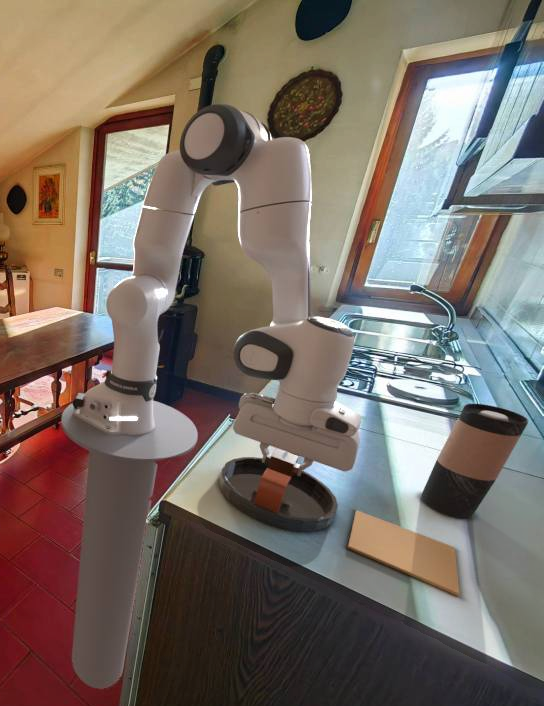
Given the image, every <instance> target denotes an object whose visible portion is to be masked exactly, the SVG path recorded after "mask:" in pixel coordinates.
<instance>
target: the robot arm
mask: <svg viewBox="0 0 544 706" xmlns="http://www.w3.org/2000/svg"><path fill="white" fill-rule="evenodd" d="M232 183H235V184H236V186H237V189H238V217H237V219H238V220H237V233H238V239H239V245H240V248H241V250H242V251H243V253H244V254H245V255H246V256H247V257H248V258H250V259H251V260H252V261H254V262H256V263H258V264H259V265H260V266H261V267H262V268H263V269H264V270H266V272H267V274H268V275H269V277H270V281H271V285H272V287H271V288H272V310H273V311H272V313H273V317H272V321H271V323H270V324H269V325H267V326H262V327H258V328H254V329H251V330H249V331H247V332H244V333H242V334H241V335H240V336H239V337H238V338H237V339H236V341H235V344H234V345H233V350H232V351H233V352H232V353H233V354H232V355H233V360H234V363H235V365H236V367H237V368H238V369H239V370H240V371H241V372H242V373H243V374H245V375H246V376H249V377H252V378H255V379H256V378H257V379H262V380H270V381H278V382H279V385H278V389H277V392H276V395H275V398H274V397H272V396H271V397H270V396H267V395H262V394H258V393H256V392H249V393H248V392H247V393H243V394H242V395H241V396H240V398H239V401H238V408H239V411H238V413H237V415H236V418H235V420H234V422H233V425H232V429H233V431H234V433H235V434H236V435H239V436H241V437H245V438H247V439H250V440H254V441H255V442H258V443H259V450H260V452H261V454H262V457H261V458H262V462H263V463H265V464H269V461H270V458H271V455H272V454H273V453H270V451H269V447H273V448H275V449H276V448H277V449H280V450H282V451H285V452H288V453H293V454H295V455H298V456H299V457H302V458H303V460H302V463H301V464H300V463H298V462H297V463H296V464H295V466H294V468H293V471H292V474H294V475H297V476H300V475H301V473H302V471H305V469H308V468H309V467H311V466H312V465H313V463H314V462H316V463H318V464H322V465H324V466H327V467H330V468H332V469H335V470H338V471H341V472H345V473H346V472H349V471H351V470H353V469H354V466H355V463H356V460H357V457H358V453H359V450H360V449H359V448H360V444H361V434H360V432H359V429H360V428H361V424H362V417H361V415H360V414H359V413H358V412H355V411H354V410H352V409H350V408H348V407H346V406H345V405H343V404H341V403H339V401H336V400H337V398H338V388H339V385H340V383H341V382H342V381H343V379H344V378H345V377H346V374H347V371H348V369H349V366H350V362H351V359H352V355H353V351H354V345H355V334H354V332H353V331H352V329H351V328H350V327H348V326H347V325H346V324H344V323H342V322H340V321H337V320H335V319H331V318H327V317H322V316H312V313H311V311H312V309H311V258H310V241H309V240H310V224H311V223H310V220H311V209H312V208H311V206H312V203H311V202H312V169H311V159H310V153H309V148H308V146H307V144H306V143H305V142H304V141H303V140H302V139H300V138H297V137H292V136H281V137H276V138H272V135H271V132H270V130H269V128H268V127H267V126H266V124H264V123H263V122H261V121H260V120H259V119H258V118H257V117H256V116H254V115H253V114H252V113H250V112H248V111H246V110H242V109H241V110H240V109H239V108H237V107H235V106H234V105H231V104H226V103H216V104H209V105H207V106H204V107H202V108H201V109H199V110H198V111H197V112H196V113H194V114H193V115H192V116H191V117H190V119H189V120H188V121H187V123H186V124H185V126H184V128H183V130H182V133H181V136H180V139H179V150H173V151H169V152H167V153H166V154H164V155H163V156H162V157H161V158H160V159H159V161H158V162H157V165H156V167H155V169H154V171H153V173H152V176H151V179H150V181H149V184H148V187H147V190H146V192H145V196H144V199H143V203H142V206H141V211H140V215H139V219H138V222H137V226H136V230H135V232H134V233H135V235H134V238H133V241H132V247H133V252H134V256H133V269H132V274H131V276H130V277H126V278H124V279H122V280H121V281H119V282H118V283H117V284H116V285H115V286H114V287H113V288H112V289H111V291H109V293H108V295H107V298H106V301H105V302H106V303H105V305H106V307H105V308H106V312H107V315H108V317H109V318H110V320H111V326H112V333H113V353H112V365H111V368H110V369H108V370H106V372H103V373H102V374H101V375H102V376H101V378H102V379H104V378H105V379H104V381H103V382H101V383H100V382H99V383H98V384H96V385H94V386H93V387H91V388H90V389H87V391H86V392H83V393H82V392H78V393H77V394H76V395H75V398H74V399H73V401H72V403H73V406H74V409H73V415H75V416H77V417H78V418H80V419H82V420H84V421H85V422H87V423H89V424H91V425H92V426H94V427H96V428H98V429H99V430H101V431H103V432H105V433H106V434H108V435H120V434H125V435H141V434H146V433H149V432H150V431H152V430H153V429H154V427H155V424H154V418H153V401H154V398H155V395H156V392H157V382H158V376H157V369H158V364H159V356H160V349H161V347H160V346H161V345H160V343H159V336H158V335H159V334H158V322H159V317H160V315H163V314H164V313H165V312H167V311H168V310H169V309H170V307H171V305H172V303H173V302H174V299H175V296H176V289H177V285H178V279H179V275H180V268H181V263H182V257H183V254H184V249H185V247H186V243H187V240H188V238H189V237H188V236H189V234H190V230H191V228H192V224H193V222H194V221H193V220H194V218H195V214H196V211H197V208H198V205H199V203H200V200H201V196H202V194H203V193H204V191H205V189H206V188H208V186H210V185H213V186H215V187H217V186H222V185H226V184H232Z"/></svg>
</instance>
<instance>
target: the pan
mask: <svg viewBox="0 0 544 706" xmlns="http://www.w3.org/2000/svg"><path fill="white" fill-rule="evenodd" d="M262 458H263V457H256V456H242V457H237V458H233V459H230V460H228V461H226V462H225V463H224V464H223V466H222V467H221V471H220V474H219V483H218V484H219V488H220V491H221V492H222V494H223V496H224V497H225V498H226V499H227V501H229V502H230V503H231V504H232V505H233V506H234V507H235V508H237V509H238V510H240V511H241V512H242V513H244V514H245V515H248V517H251V518H253V519H255V520H257V521H259V522H261V523H264V524H266V525H269V526H272V527H275V528H278V529H282V530H286V531H293V532H301V533H303V532H305V533H306V532H316V531H321V530H324V529H325V528H328V527H329V526H330V525H331V524H332V522H333V521H334V518H335V516H336V514H337V510H338V507H339V504H338V501H337V498H336V496H335V494H334V493H333V492H332V491H331V489H330V488H329V487H328V486H327V485H325V484H324V483H323V482H322V481H320V480H319V479H318V478H317V477H315V476H313V475H312V474H310V473H308V472H306V471H305V470H303V471H302V473H301V475H300V476H297V475H294V474H292V477H291V480H290V482H289V485H288V488H287V491H286V494H285V497H284V500H283V503H282V505H281V507H280V509H279V511H278V513H275V512H273V511H271V510H268V509H266V508H264V507H261V506H259V505H257V504H254V501H255V497H256V494H257V490H258V487H259V484H260V480H261V477H262V476H263V474H264V472H265V471H266V469H267V467H268V464H265V463H263V462H262Z"/></svg>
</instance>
